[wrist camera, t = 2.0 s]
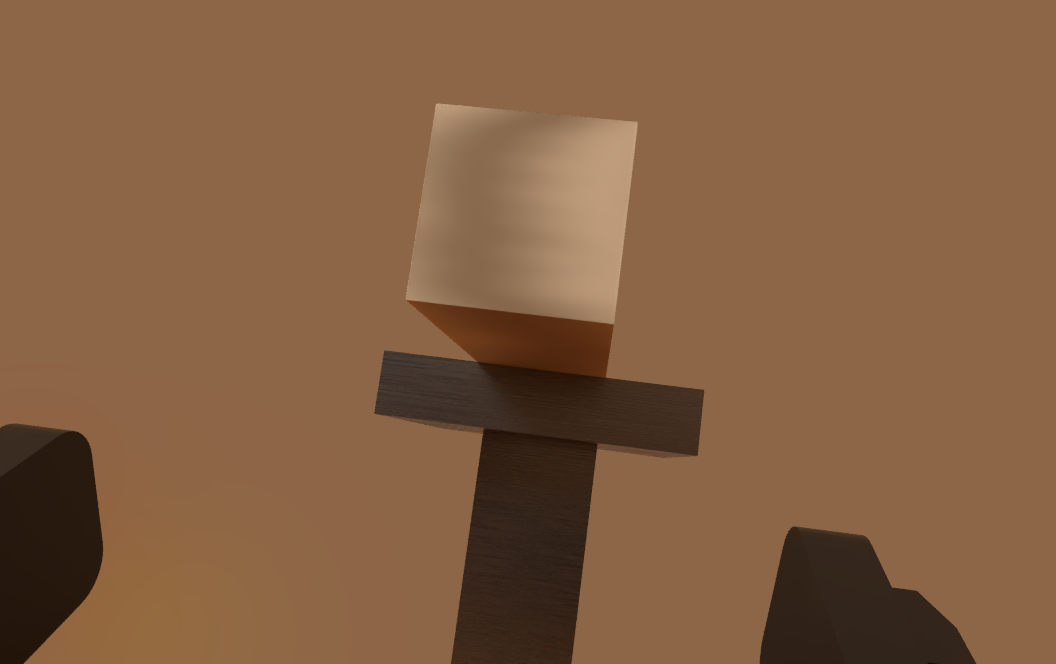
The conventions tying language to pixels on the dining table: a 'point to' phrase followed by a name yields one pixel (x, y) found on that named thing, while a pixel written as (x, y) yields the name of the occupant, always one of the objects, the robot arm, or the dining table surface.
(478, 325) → the tan wooden block
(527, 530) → the pedestal
